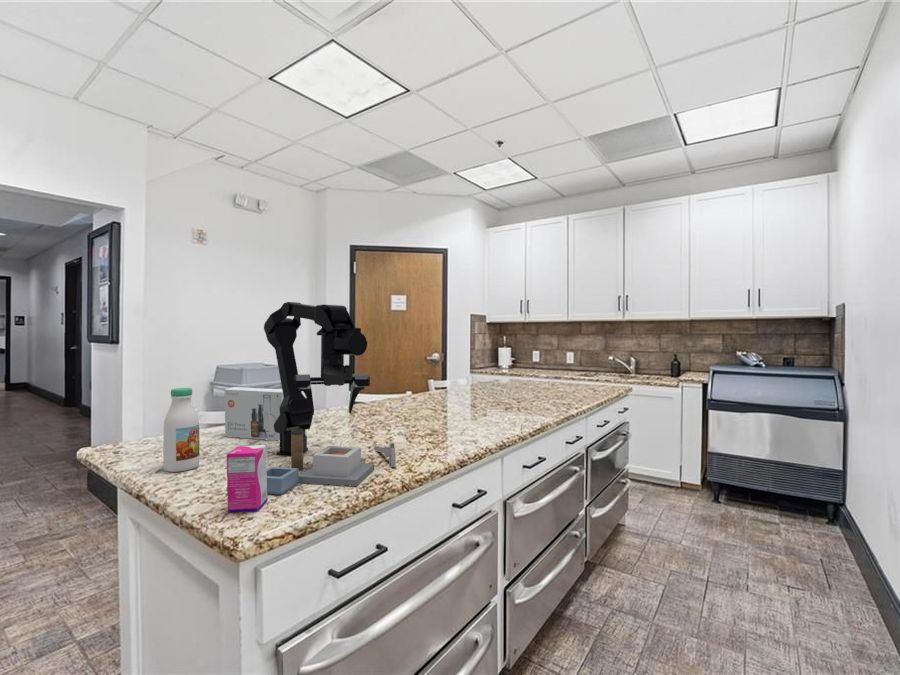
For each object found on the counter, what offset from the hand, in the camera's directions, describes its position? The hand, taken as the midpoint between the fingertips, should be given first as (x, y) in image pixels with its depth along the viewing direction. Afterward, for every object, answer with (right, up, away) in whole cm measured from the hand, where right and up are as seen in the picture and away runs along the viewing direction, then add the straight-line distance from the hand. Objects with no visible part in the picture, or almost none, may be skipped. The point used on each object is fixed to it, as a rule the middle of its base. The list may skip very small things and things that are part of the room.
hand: (331, 413), depth 113 cm
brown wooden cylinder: (-8, -13, -4) cm, 16 cm away
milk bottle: (-37, -13, -3) cm, 39 cm away
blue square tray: (-8, -13, -17) cm, 23 cm away
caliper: (+12, -14, +7) cm, 20 cm away
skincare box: (-32, -13, +28) cm, 45 cm away
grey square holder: (+4, -13, -9) cm, 16 cm away
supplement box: (-9, -14, -27) cm, 32 cm away
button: (+4, -10, -9) cm, 14 cm away
